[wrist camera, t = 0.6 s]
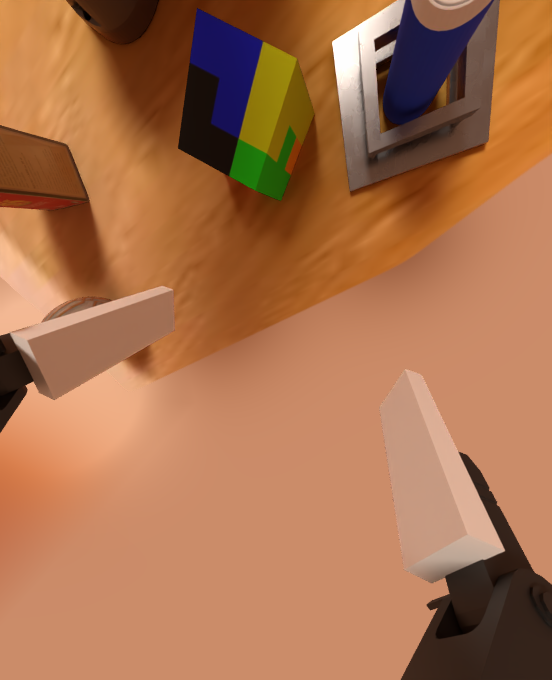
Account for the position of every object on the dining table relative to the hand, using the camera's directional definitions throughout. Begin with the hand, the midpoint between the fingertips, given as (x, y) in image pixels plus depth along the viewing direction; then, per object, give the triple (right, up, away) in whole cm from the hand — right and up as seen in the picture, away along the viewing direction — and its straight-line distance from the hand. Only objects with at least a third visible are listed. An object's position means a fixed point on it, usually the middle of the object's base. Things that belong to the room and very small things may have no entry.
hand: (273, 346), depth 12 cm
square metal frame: (+15, +27, +12) cm, 33 cm away
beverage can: (+15, +27, +12) cm, 33 cm away
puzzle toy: (-1, +27, +18) cm, 33 cm away
